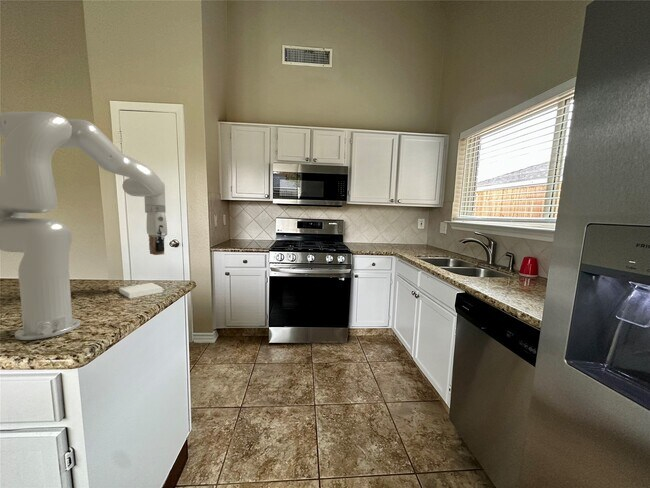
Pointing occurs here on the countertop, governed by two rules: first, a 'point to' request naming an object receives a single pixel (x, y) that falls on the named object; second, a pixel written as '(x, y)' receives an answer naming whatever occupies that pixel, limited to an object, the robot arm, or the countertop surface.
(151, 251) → the two-tone wooden block
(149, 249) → the robot arm
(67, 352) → the countertop surface
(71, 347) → the countertop surface
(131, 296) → the cutting board
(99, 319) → the countertop surface
